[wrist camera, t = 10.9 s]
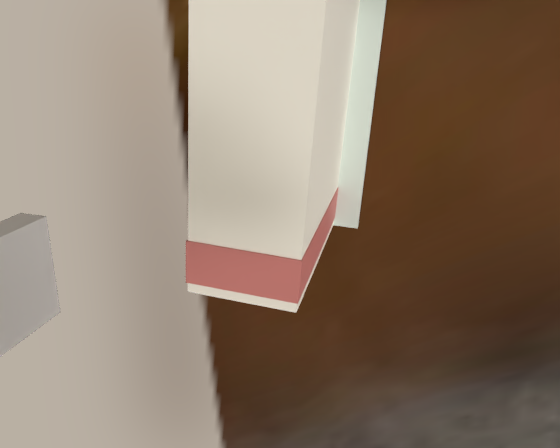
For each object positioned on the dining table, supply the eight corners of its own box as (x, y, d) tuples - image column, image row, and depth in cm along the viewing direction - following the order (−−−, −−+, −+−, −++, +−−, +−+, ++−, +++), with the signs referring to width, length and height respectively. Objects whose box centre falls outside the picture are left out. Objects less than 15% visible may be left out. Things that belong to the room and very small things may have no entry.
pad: (358, 226, 31) (357, 228, 31) (237, 209, 33) (235, 211, 32) (389, -20, 26) (388, -20, 26) (244, -25, 28) (242, -26, 27)
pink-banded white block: (334, 225, 31) (296, 314, 21) (256, 213, 32) (185, 292, 22) (363, -22, 26) (332, -60, 16) (270, -26, 27) (186, -65, 17)
